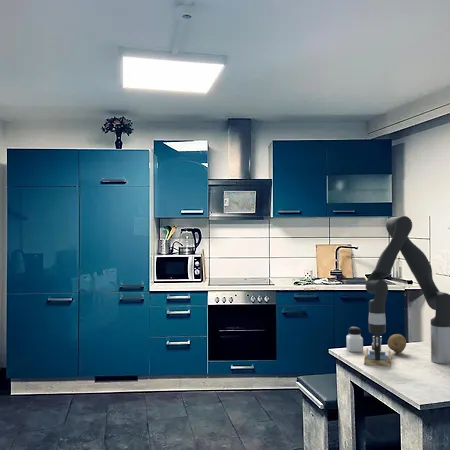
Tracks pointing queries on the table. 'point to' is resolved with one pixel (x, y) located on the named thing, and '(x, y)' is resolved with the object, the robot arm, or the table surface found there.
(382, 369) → the table surface
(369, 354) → the cover
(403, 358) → the table surface
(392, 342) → the natural sponge
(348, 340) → the medicine bottle
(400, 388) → the table surface
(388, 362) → the wooden tray
